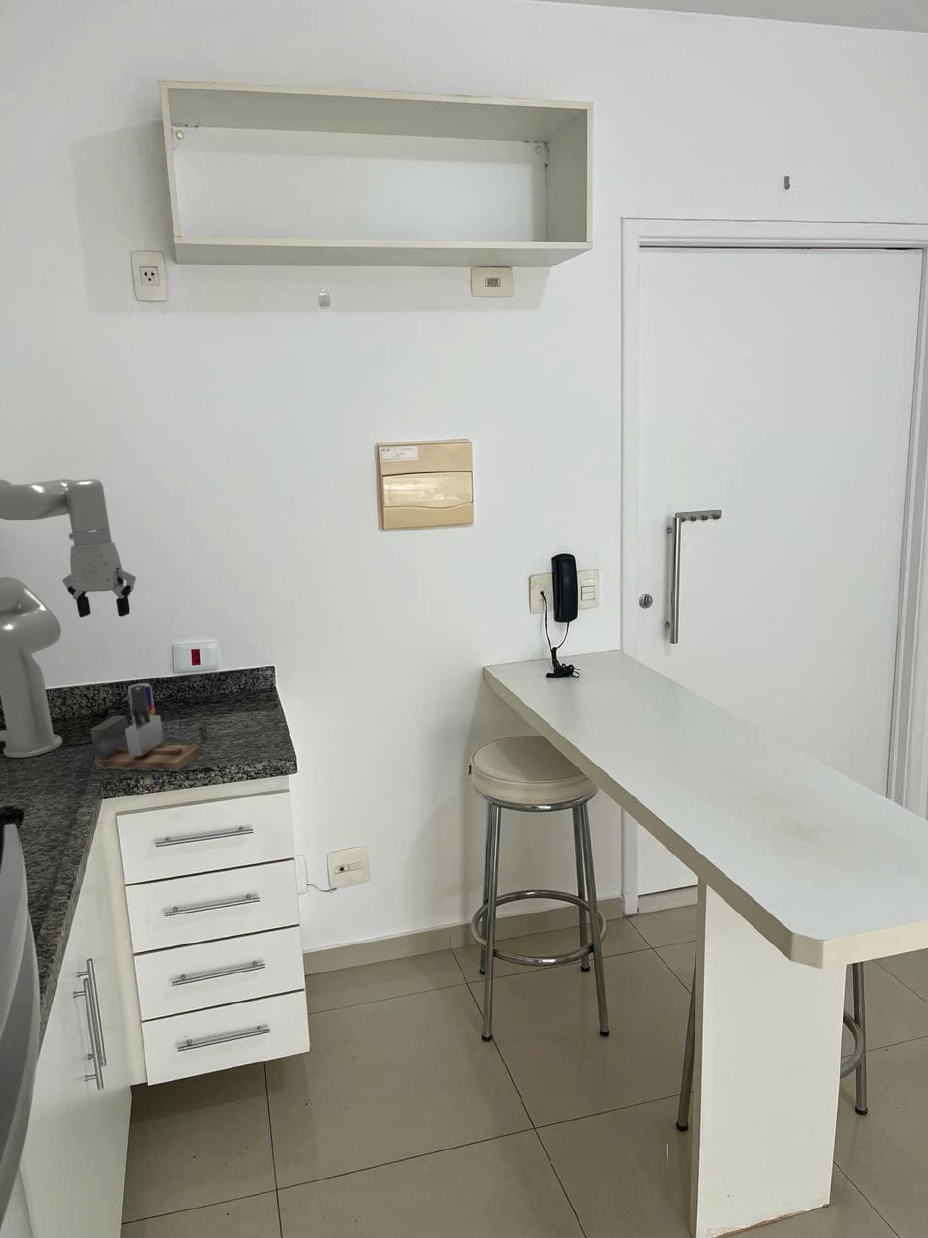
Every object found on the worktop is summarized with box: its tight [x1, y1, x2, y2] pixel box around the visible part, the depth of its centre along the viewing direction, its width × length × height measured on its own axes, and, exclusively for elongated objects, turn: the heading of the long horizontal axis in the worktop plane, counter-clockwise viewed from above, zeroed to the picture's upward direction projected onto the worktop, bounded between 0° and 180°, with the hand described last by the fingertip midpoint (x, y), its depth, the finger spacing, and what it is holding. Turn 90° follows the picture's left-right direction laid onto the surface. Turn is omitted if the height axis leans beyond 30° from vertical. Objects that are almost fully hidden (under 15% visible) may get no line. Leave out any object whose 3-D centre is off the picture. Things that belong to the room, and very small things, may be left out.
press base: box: [90, 715, 202, 770], centre depth 206 cm, size 20×10×9 cm, turn 77°
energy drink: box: [127, 682, 156, 725], centre depth 224 cm, size 5×5×12 cm
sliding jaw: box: [125, 685, 165, 756], centre depth 204 cm, size 3×9×14 cm, turn 167°
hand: (104, 615), depth 205 cm, fingers open, 9 cm apart
